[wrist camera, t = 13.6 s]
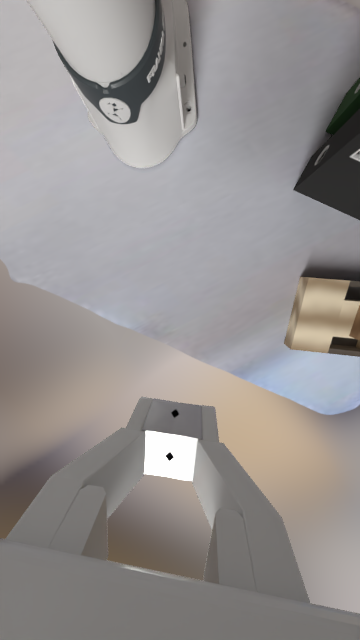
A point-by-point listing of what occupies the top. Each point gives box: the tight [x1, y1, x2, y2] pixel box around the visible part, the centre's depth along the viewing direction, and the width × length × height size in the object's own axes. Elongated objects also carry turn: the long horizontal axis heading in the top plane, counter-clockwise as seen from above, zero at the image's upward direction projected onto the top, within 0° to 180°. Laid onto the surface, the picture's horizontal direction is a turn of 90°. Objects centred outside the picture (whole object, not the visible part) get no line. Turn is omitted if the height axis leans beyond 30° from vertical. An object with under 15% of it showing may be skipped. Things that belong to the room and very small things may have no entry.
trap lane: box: [284, 277, 360, 357], centre depth 34 cm, size 14×20×7 cm
